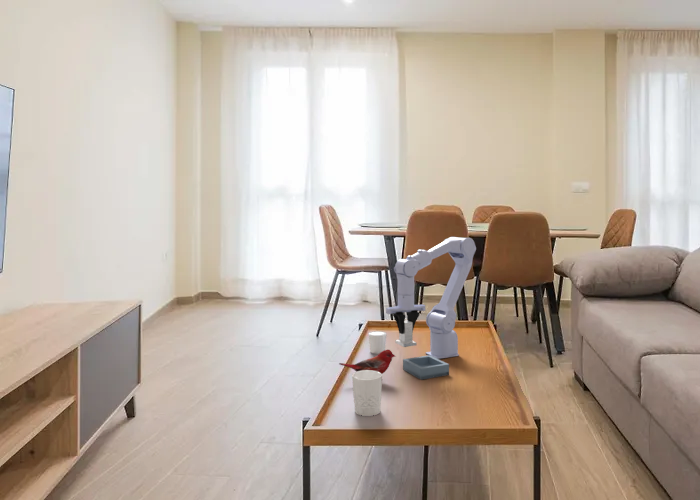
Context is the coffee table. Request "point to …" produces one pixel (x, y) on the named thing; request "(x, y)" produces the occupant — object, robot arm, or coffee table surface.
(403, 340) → the grey t-shaped bar
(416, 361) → the slate well
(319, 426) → the coffee table surface
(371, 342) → the off-white tapered cylinder
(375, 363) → the decorative bird figurine
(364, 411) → the white cup
